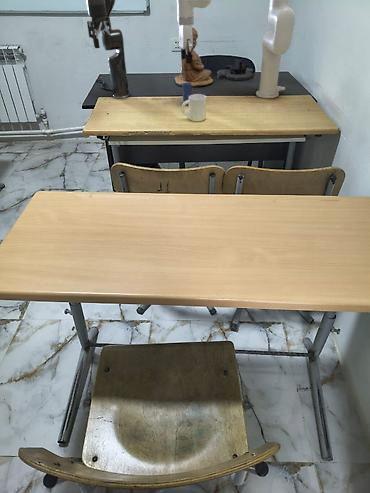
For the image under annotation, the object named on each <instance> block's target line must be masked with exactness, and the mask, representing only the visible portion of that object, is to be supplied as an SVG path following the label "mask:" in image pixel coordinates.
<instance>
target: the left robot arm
mask: <svg viewBox="0 0 370 493" xmlns="http://www.w3.org/2000/svg"><path fill="white" fill-rule="evenodd" d="M115 2H116V0H86V6H87V12H88V16H89V17H90V18H91V20H90V21H89V20H88V21H87V22H86V25H87V31H88V37H89V38H91V39H92V42H93V47H94V49H100V47H101V46H100V40H99V35H100V34H101V35H100V36H101V43H102V47H103V49H104V50H105V51H116V52H115V53H114V54H112V55H110V56H109V57H108V58H107V64H108V70H109V75H110V83H111V88H106V87H105V84H106V83H105V81H104V80H102V79H101V78H96V80H95V82H101V85H100V87H101V89H103V90H105V91H111V92H112V97H113V98H114V99H125V98H128V97H130V90H129V89H130V87H129V82H128V81H129V79H128V74H127V66H126V65H127V64H126V55H125V43H124V41H125V40H124V36H123V32H122V30H121V29H119V28H116V29H112V24H111V13H112V12H113V9H114V7H115Z"/></svg>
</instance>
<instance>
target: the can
mask: <svg viewBox="0 0 370 493" xmlns="http://www.w3.org/2000/svg"><path fill="white" fill-rule="evenodd" d="M192 88H193V86H192V84H191V83H183V86H182V104H183V103H184V102H185V101H187V100H189V96H190V95H193V92H192V91H193V89H192ZM185 106H189V104H186V105H185Z"/></svg>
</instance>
